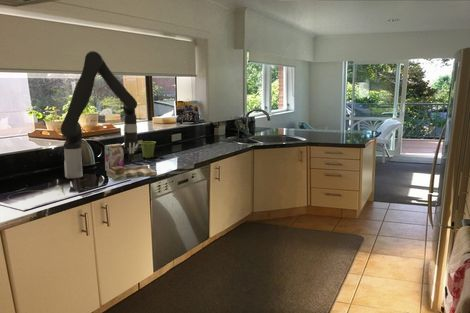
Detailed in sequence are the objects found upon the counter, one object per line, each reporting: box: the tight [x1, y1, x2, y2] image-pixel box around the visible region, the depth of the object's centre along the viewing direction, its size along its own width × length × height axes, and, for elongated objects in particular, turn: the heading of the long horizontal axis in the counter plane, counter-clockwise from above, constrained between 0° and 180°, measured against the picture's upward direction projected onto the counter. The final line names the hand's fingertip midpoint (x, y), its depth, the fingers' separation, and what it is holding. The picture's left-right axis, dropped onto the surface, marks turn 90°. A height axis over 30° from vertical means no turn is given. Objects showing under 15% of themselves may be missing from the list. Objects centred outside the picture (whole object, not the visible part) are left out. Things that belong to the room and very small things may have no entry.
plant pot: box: [139, 140, 157, 159], centre depth 299 cm, size 12×12×11 cm
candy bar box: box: [104, 143, 125, 172], centre depth 255 cm, size 11×5×16 cm, turn 141°
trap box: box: [106, 164, 158, 181], centre depth 243 cm, size 26×14×4 cm, turn 125°
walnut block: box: [111, 166, 125, 174], centre depth 239 cm, size 6×6×4 cm
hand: (131, 159), depth 244 cm, fingers closed
